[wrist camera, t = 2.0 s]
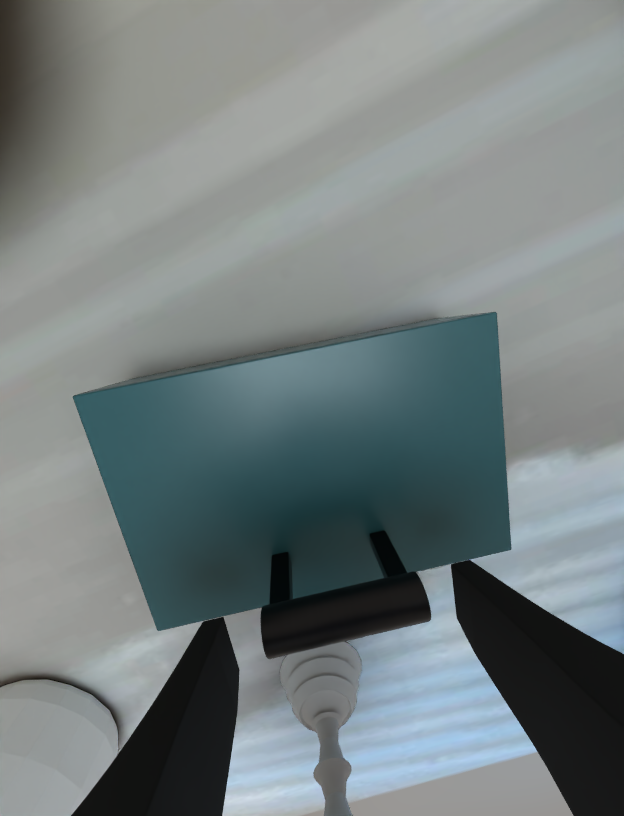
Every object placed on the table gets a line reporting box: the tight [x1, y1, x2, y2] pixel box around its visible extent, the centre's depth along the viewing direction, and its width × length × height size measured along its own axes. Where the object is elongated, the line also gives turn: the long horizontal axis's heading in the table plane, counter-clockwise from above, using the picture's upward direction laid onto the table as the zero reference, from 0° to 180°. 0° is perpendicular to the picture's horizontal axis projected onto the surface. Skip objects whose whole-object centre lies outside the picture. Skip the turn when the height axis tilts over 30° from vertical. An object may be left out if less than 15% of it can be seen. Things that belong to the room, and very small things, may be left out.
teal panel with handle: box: [73, 312, 511, 659], centre depth 11 cm, size 10×15×4 cm, turn 101°
